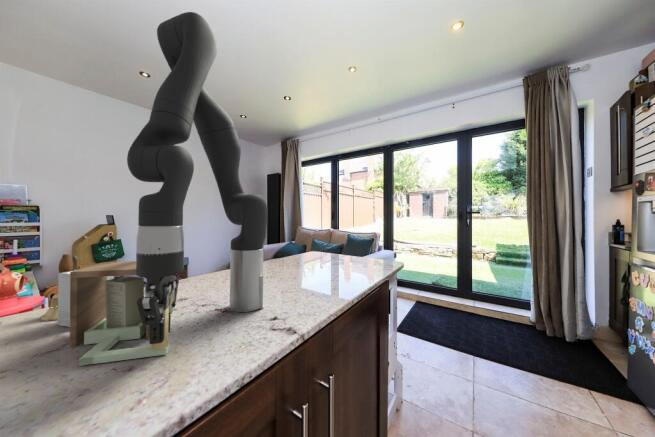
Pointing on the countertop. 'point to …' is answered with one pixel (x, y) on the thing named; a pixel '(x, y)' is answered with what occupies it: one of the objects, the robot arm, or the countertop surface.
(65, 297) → the supplement box
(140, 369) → the countertop surface
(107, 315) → the skincare box
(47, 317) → the hand bell
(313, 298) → the countertop surface
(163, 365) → the countertop surface
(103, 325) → the green zigzag lever
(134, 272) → the brown hollow box
